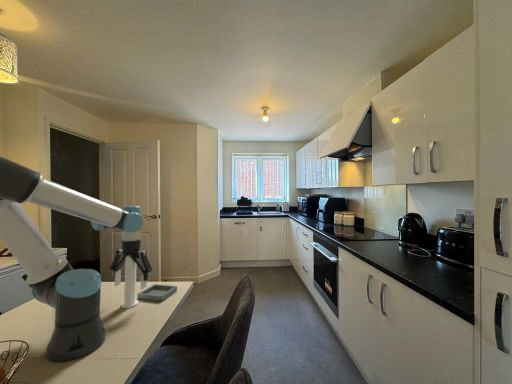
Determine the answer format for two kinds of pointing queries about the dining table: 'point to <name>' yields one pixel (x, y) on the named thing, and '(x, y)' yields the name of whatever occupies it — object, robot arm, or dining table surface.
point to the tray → (157, 292)
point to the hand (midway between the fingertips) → (130, 286)
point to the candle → (130, 284)
